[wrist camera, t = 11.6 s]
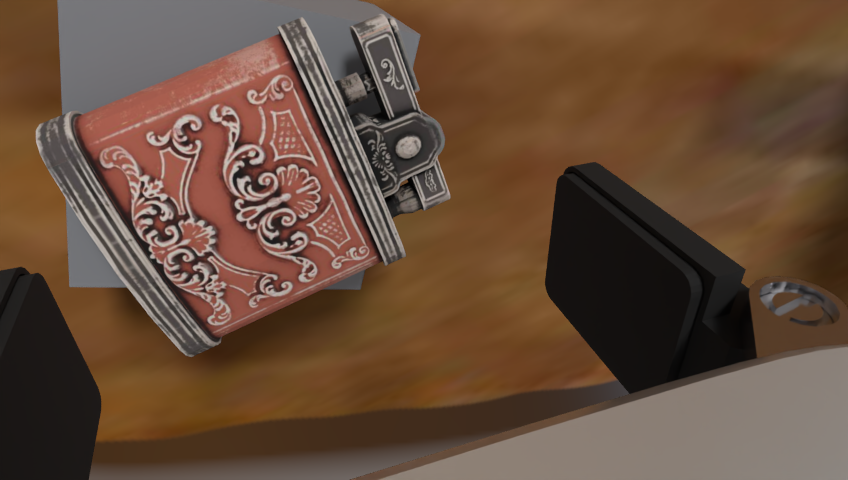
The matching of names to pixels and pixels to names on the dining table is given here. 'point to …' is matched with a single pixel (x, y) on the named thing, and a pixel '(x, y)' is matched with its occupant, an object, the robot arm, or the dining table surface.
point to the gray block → (185, 66)
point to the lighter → (250, 178)
